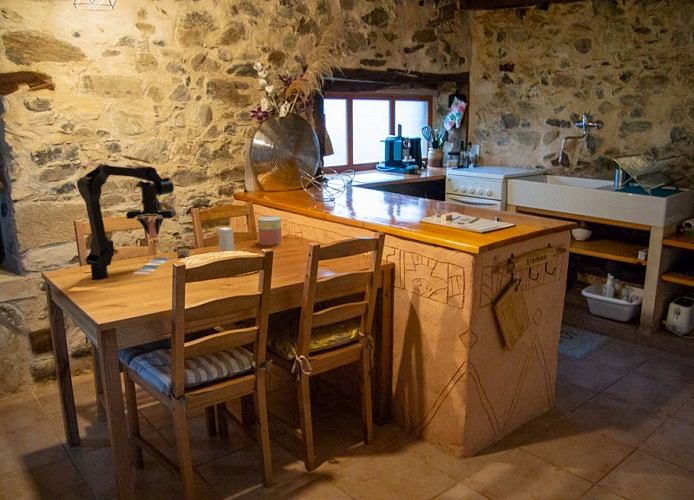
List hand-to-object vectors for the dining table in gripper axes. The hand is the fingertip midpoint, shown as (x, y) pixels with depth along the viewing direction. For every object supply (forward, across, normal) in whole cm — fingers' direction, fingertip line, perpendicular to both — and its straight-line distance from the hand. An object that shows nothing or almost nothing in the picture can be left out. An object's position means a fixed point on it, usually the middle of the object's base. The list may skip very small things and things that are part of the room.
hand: (153, 234), depth 237 cm
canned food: (+15, -41, -44) cm, 61 cm away
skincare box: (+14, -25, -19) cm, 35 cm away
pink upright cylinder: (+1, 0, 0) cm, 1 cm away
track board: (+14, 0, +3) cm, 14 cm away
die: (+14, -8, -12) cm, 20 cm away
